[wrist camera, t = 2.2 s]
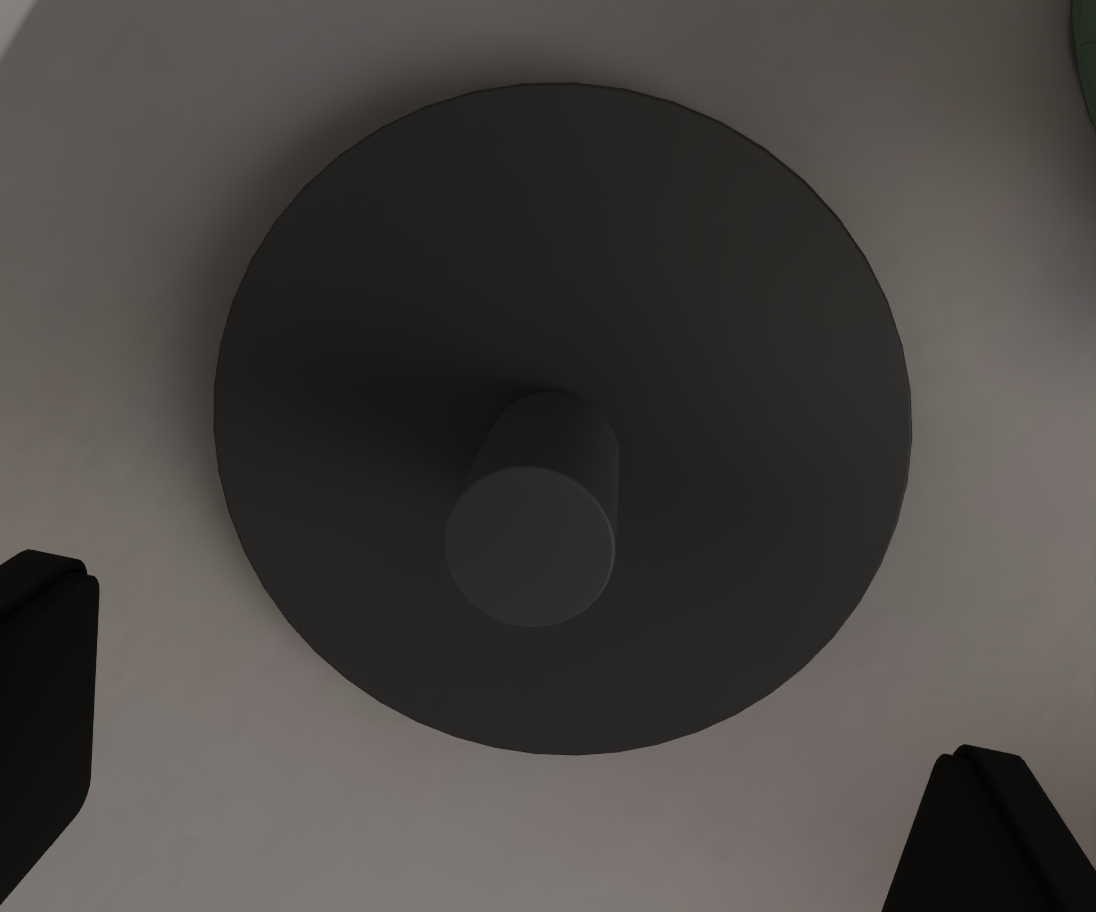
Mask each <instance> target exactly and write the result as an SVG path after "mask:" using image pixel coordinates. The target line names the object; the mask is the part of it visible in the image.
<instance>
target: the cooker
mask: <svg viewBox="0 0 1096 912" xmlns="http://www.w3.org/2000/svg"><path fill="white" fill-rule="evenodd" d="M1072 23H1073V31H1074V40H1075V48H1076V56H1077V65H1078V72H1079V76H1080V79H1081V83H1082V87H1083V91H1084V95H1085V98H1086V102H1087V106H1088V110H1089V114H1090V117H1091V119H1092V122H1093V124H1094V127H1095V129H1096V0H1073V6H1072Z"/></svg>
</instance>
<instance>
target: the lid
mask: <svg viewBox="0 0 1096 912" xmlns="http://www.w3.org/2000/svg"><path fill="white" fill-rule="evenodd" d="M214 438H215V446H216V454H217V462H218V471H219V475H220V479H221V483H222V487H223V491H224V495H225V499H226V503H227V507H228V511H229V514H230V517H231V519H232V522H233V524H234V527H235V529H236V532H237V534H238V537H239V539H240V542H241V544H242V547H243V550H244V552H245V554H246V556H247V558H248V559H249V561H250V563H251V565H252V567H253V569H254V570H255V572H256V574H257V576H258V578H259V580H260V581H261V583H262V585H263V587H264V589H265V590H266V591H267V593H268V594H269V596H270V597H271V598H272V600H273V601H274V603H275V604H276V605H277V607H278V608H279V610H280V611H281V612H282V614H283V615H284V617H285V618H286V619H287V621H288V622H289V623H290V624H291V626H292V627H293V628H294V629H295V630H296V631H297V632H298V633H299V634H300V635H301V636H302V638H303V639H304V640H305V641H306V642H307V643H308V644H309V645H310V646H311V647H312V649H313V650H314V651H315V652H316V653H317V654H318V655H320V656H321V657H322V658H323V659H324V660H325V661H326V662H328V663H329V664H330V665H331V666H332V667H333V668H334V669H336V670H337V671H338V672H339V673H340V674H341V675H343V676H344V677H345V678H346V679H347V680H349V681H350V682H351V683H353V684H354V685H356V686H357V687H359V688H360V689H362V690H363V691H365V692H366V693H368V694H369V695H370V696H372V697H373V698H375V699H376V700H378V701H379V702H381V703H382V704H384V705H386V706H388V707H390V708H392V709H394V710H396V711H398V712H399V713H401V714H403V715H405V716H407V717H409V718H411V719H413V720H414V721H416V722H419V723H421V724H424V725H426V726H429V727H431V728H434V729H436V730H439V731H441V732H444V733H447V734H449V735H452V736H454V737H457V738H461V739H465V740H468V741H472V742H476V743H480V744H483V745H487V746H491V747H494V748H501V749H507V750H514V751H520V752H527V753H533V754H553V755H589V754H602V753H615V752H622V751H627V750H632V749H637V748H643V747H648V746H653V745H658V744H661V743H664V742H668V741H671V740H674V739H677V738H680V737H683V736H687V735H690V734H693V733H696V732H699V731H701V730H703V729H705V728H708V727H710V726H712V725H714V724H716V723H719V722H721V721H723V720H725V719H728V718H730V717H732V716H734V715H736V714H738V713H739V712H741V711H743V710H744V709H746V708H748V707H749V706H751V705H753V704H754V703H756V702H757V701H759V700H761V699H762V698H764V697H766V696H767V695H769V694H771V693H772V692H773V691H775V690H776V689H777V688H778V687H780V686H781V685H782V684H783V683H785V682H786V681H787V680H788V679H790V678H791V677H792V676H793V675H795V674H796V673H797V672H799V671H800V670H801V669H802V668H804V667H805V666H806V665H807V664H808V663H809V662H810V661H811V659H812V658H813V657H814V656H815V655H816V654H817V653H818V652H819V651H820V650H821V649H822V648H823V647H824V646H825V645H826V644H827V643H828V642H829V641H830V640H831V639H832V638H833V637H834V636H835V634H836V633H837V632H838V630H839V629H840V628H841V626H842V625H843V624H844V622H845V621H846V620H847V618H848V617H849V616H850V615H851V613H852V612H853V611H854V609H855V608H856V607H857V605H858V604H859V602H860V601H861V599H862V597H863V595H864V594H865V592H866V590H867V588H868V586H869V585H870V583H871V581H872V579H873V578H874V576H875V574H876V572H877V571H878V569H879V567H880V565H881V563H882V560H883V558H884V555H885V553H886V550H887V548H888V545H889V543H890V540H891V538H892V535H893V533H894V530H895V528H896V525H897V522H898V518H899V514H900V510H901V506H902V502H903V497H904V493H905V489H906V485H907V481H908V472H909V462H910V453H911V443H912V419H911V391H910V386H909V380H908V374H907V369H906V363H905V358H904V352H903V347H902V343H901V340H900V337H899V334H898V331H897V328H896V325H895V322H894V319H893V316H892V313H891V310H890V307H889V304H888V301H887V299H886V297H885V295H884V293H883V291H882V289H881V287H880V285H879V283H878V280H877V278H876V276H875V274H874V272H873V270H872V268H871V266H870V264H869V262H868V260H867V258H866V257H865V255H864V254H863V252H862V251H861V249H860V248H859V246H858V245H857V244H856V242H855V241H854V239H853V238H852V236H851V235H850V233H849V232H848V231H847V229H846V228H845V226H844V225H843V223H842V222H841V220H840V219H839V218H838V216H837V215H836V214H835V213H834V212H833V211H832V210H831V209H830V208H829V206H828V205H827V204H826V203H825V202H824V201H823V200H822V199H821V198H820V197H819V196H818V195H817V194H816V192H815V191H814V190H813V189H812V188H811V187H810V186H809V185H808V184H807V183H806V182H805V181H804V180H803V179H802V178H801V177H800V176H798V175H797V174H796V173H795V172H794V171H792V170H791V169H790V168H789V167H787V166H786V165H785V164H784V163H782V162H781V161H780V160H779V159H778V158H776V157H775V156H774V155H773V154H771V153H770V152H769V151H768V150H766V149H765V148H764V147H762V146H760V145H759V144H757V143H755V142H754V141H752V140H750V139H749V138H747V137H745V136H744V135H742V134H740V133H739V132H737V131H735V130H734V129H732V128H730V127H729V126H727V125H725V124H724V123H722V122H720V121H718V120H715V119H713V118H711V117H708V116H706V115H704V114H701V113H699V112H697V111H694V110H692V109H690V108H687V107H685V106H682V105H680V104H678V103H675V102H672V101H669V100H665V99H661V98H657V97H654V96H650V95H646V94H642V93H639V92H635V91H631V90H628V89H623V88H615V87H606V86H598V85H590V84H582V83H524V84H517V85H511V86H504V87H498V88H492V89H486V90H480V91H473V92H470V93H467V94H464V95H460V96H457V97H454V98H451V99H447V100H444V101H441V102H438V103H435V104H431V105H428V106H425V107H423V108H421V109H419V110H417V111H415V112H412V113H410V114H408V115H406V116H404V117H402V118H400V119H398V120H396V121H393V122H391V123H389V124H387V125H385V126H383V127H381V128H379V129H378V130H376V131H375V132H373V133H372V134H370V135H369V136H367V137H366V138H364V139H363V140H361V141H360V142H358V143H357V144H355V145H354V146H352V147H351V148H349V149H348V150H346V151H345V152H343V153H342V154H340V155H339V156H338V157H337V158H336V159H335V160H334V161H332V162H331V163H330V164H329V165H328V166H327V167H326V168H325V169H323V170H322V171H321V172H320V173H319V174H318V175H317V176H316V177H314V178H313V179H312V180H311V181H310V182H309V183H308V184H307V185H305V187H304V188H303V189H302V190H301V191H300V193H299V194H298V195H297V196H296V197H295V198H294V200H293V201H292V202H291V203H290V204H289V205H288V207H287V208H286V209H285V210H284V211H283V213H282V214H281V215H280V216H279V217H278V218H277V220H276V221H275V222H274V224H273V226H272V227H271V229H270V230H269V232H268V234H267V235H266V237H265V238H264V240H263V241H262V243H261V245H260V246H259V248H258V249H257V251H256V253H255V254H254V256H253V257H252V259H251V261H250V263H249V265H248V268H247V270H246V272H245V274H244V277H243V279H242V281H241V283H240V285H239V288H238V290H237V292H236V294H235V297H234V299H233V301H232V305H231V308H230V312H229V315H228V319H227V322H226V326H225V329H224V332H223V336H222V339H221V343H220V349H219V356H218V363H217V370H216V376H215V383H214Z"/></svg>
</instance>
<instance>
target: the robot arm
mask: <svg viewBox="0 0 1096 912" xmlns="http://www.w3.org/2000/svg"><path fill="white" fill-rule="evenodd" d="M98 613H99V583H98V580H97V578H96V577H95V576H91V575H87V570H86V567H85V564H84V563H83V562H82V561H81V560H79V559H74V558H69V557H64V556H60V555H55V554H50V553H45V552H40V551H36V550H29V549H27V550H25V551H22V552H20V553H18V554H17V555H15V556H14V557H12V558H11V559H9V560H7V561H6V562H4V563H3V564H1V565H0V905H1V904H2V903H3V901H4V900H5V899H6V898H7V897H8V895H9V894H10V893H11V892H12V891H13V890H14V888H15V887H16V886H17V885H18V884H19V883H20V881H21V880H22V879H23V878H24V877H25V875H26V874H27V873H28V872H29V871H30V870H31V868H32V867H33V866H34V865H35V864H36V863H37V861H38V860H39V859H40V858H41V857H42V856H43V854H44V853H45V852H46V851H47V850H48V848H49V847H50V846H51V845H52V844H53V843H54V841H55V840H56V839H57V838H58V837H59V836H60V834H61V833H62V832H63V831H64V830H65V828H66V827H67V826H68V825H69V824H70V823H71V821H72V820H73V819H74V818H75V817H76V815H77V814H78V812H79V811H80V809H81V807H82V806H83V804H84V802H85V799H86V797H87V794H88V790H89V787H90V780H91V763H92V741H93V720H94V699H95V677H96V656H97V634H98ZM881 912H1096V871H1095V869H1094V868H1093V866H1092V864H1091V863H1090V861H1089V860H1088V858H1087V857H1086V855H1085V854H1084V852H1083V851H1082V849H1081V847H1080V846H1079V844H1078V843H1077V841H1076V840H1075V838H1074V837H1073V835H1072V834H1071V832H1070V831H1069V829H1068V827H1067V826H1066V824H1065V823H1064V821H1063V820H1062V818H1061V817H1060V815H1059V814H1058V812H1057V810H1056V809H1055V807H1054V806H1053V804H1052V803H1051V801H1050V800H1049V798H1048V797H1047V795H1046V794H1045V792H1044V790H1043V789H1042V787H1041V786H1040V784H1039V783H1038V781H1037V780H1036V778H1035V777H1034V775H1033V773H1032V772H1031V770H1030V769H1029V767H1028V766H1027V764H1026V763H1025V761H1024V760H1023V759H1022V758H1021V757H1020V756H1018V755H1014V754H1010V753H1005V752H1000V751H995V750H990V749H986V748H981V747H976V746H971V745H966V744H964V745H961V746H959V747H958V748H957V750H956V751H955V752H954V754H953V755H948V754H942V755H940V757H939V758H938V759H937V760H936V762H935V765H934V767H933V770H932V772H931V775H930V778H929V781H928V784H927V786H926V789H925V792H924V795H923V797H922V800H921V803H920V806H919V809H918V811H917V814H916V817H915V820H914V822H913V825H912V828H911V831H910V834H909V836H908V839H907V842H906V845H905V847H904V850H903V853H902V856H901V859H900V861H899V864H898V867H897V870H896V872H895V875H894V878H893V881H892V884H891V886H890V889H889V892H888V895H887V898H886V900H885V903H884V906H883V909H882V911H881Z"/></svg>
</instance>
